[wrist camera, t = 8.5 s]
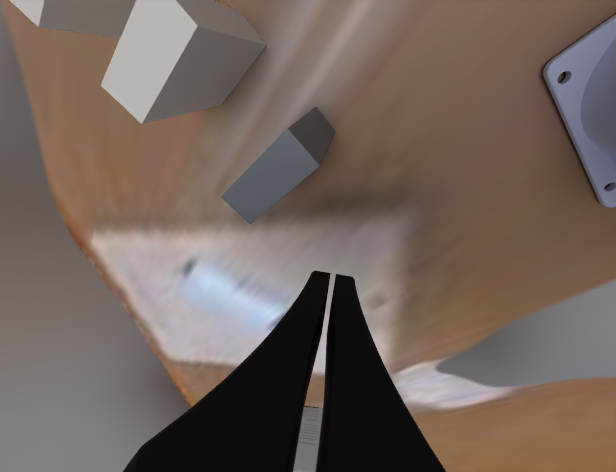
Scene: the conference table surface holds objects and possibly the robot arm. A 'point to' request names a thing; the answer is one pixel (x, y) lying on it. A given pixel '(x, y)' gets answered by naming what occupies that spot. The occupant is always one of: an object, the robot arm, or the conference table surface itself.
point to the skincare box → (308, 440)
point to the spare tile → (281, 166)
